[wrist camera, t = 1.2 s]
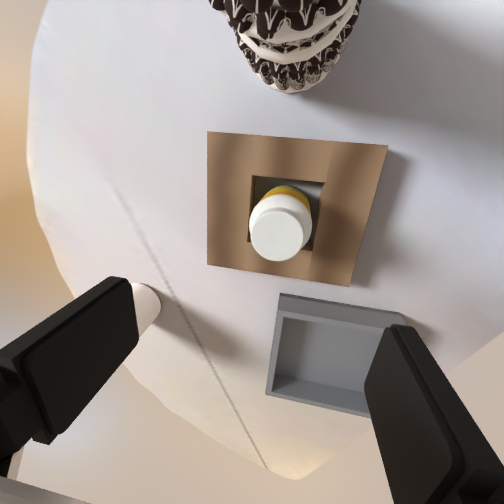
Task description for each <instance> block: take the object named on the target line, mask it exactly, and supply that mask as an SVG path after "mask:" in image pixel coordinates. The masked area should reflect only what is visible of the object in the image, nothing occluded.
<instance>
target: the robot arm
mask: <svg viewBox="0 0 504 504" xmlns="http://www.w3.org/2000/svg"><path fill="white" fill-rule="evenodd" d="M138 341H139V331H138V325H137V318H136V311H135V304H134V297H133V290H132V285H131V284H130V283H129V281H128V280H127V279H126V278H120V277H115V276H110V277H108V278H106V279H105V280H103V281H102V282H100V283H99V284H97V285H96V286H94V287H93V288H91V289H90V290H88V291H87V292H85V293H84V294H82V295H81V296H79V297H78V298H76V299H75V300H73V301H72V302H70V303H69V304H67V305H66V306H64V307H63V308H61V309H60V310H59V311H57V312H56V313H54V314H53V315H51V316H50V317H48V318H47V319H45V320H44V321H42V322H41V323H39V324H38V325H36V326H35V327H33V328H32V329H30V330H29V331H27V332H26V333H24V334H23V335H21V336H20V337H18V338H17V339H15V340H14V341H12V342H11V343H9V344H8V345H6V346H5V347H3V348H2V349H0V504H91V503H87V502H84V501H81V500H77V499H74V498H71V497H68V496H64V495H61V494H58V493H54V492H51V491H48V490H45V489H41V488H38V487H35V486H31V485H28V484H25V483H21V482H18V481H16V479H17V474H18V470H19V466H20V461H21V457H22V453H23V449H24V445H25V444H26V443H27V442H28V441H29V440H30V438H31V437H32V439H33V441H36V442H40V443H43V444H47V445H50V443H51V442H52V441H53V440H54V439H55V438H56V436H57V435H58V434H61V433H63V432H64V431H65V430H66V429H67V428H68V427H69V426H70V425H71V424H72V422H73V421H74V420H75V419H76V418H77V416H78V415H79V414H80V413H81V412H82V410H83V409H84V408H85V407H86V406H87V404H88V403H89V402H90V401H91V400H92V398H93V397H94V396H95V395H96V393H97V392H98V391H99V390H100V389H101V388H102V386H103V385H104V384H105V383H106V381H107V380H108V379H109V378H110V376H111V375H112V374H113V373H114V372H115V371H116V369H117V368H118V367H119V366H120V364H121V363H122V362H123V361H124V360H125V359H126V357H127V356H128V355H129V354H130V353H131V351H132V350H133V349H134V348H135V347H136V345H137V343H138ZM364 393H365V397H366V401H367V405H368V408H369V412H370V416H371V420H372V423H373V427H374V431H375V435H376V438H377V442H378V446H379V449H380V453H381V457H382V461H383V464H384V468H385V472H386V475H387V479H388V483H389V487H390V490H391V494H392V498H393V501H394V504H504V466H503V464H502V463H501V461H500V460H499V458H498V457H497V455H496V453H495V452H494V450H493V449H492V447H491V446H490V444H489V443H488V441H487V440H486V438H485V436H484V435H483V434H482V432H481V430H480V429H479V427H478V426H477V424H476V423H475V421H474V420H473V418H472V416H471V415H470V413H469V412H468V410H467V409H466V407H465V406H464V404H463V402H462V401H461V400H460V398H459V396H458V395H457V393H456V392H455V390H454V389H453V387H452V386H451V384H450V383H449V381H448V379H447V378H446V376H445V375H444V373H443V372H442V370H441V368H440V367H439V365H438V364H437V362H436V361H435V359H434V358H433V356H432V355H431V353H430V351H429V350H428V348H427V347H426V345H425V344H424V342H423V341H422V339H421V338H420V336H419V334H418V333H417V331H416V330H415V329H414V328H413V327H411V326H405V325H399V324H392V325H391V326H390V327H386V328H385V329H384V332H383V334H382V337H381V340H380V342H379V345H378V348H377V350H376V353H375V355H374V358H373V361H372V363H371V366H370V369H369V371H368V374H367V377H366V379H365V382H364Z"/></svg>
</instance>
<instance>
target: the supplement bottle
mask: <svg viewBox="0 0 504 504" xmlns="http://www.w3.org/2000/svg"><path fill="white" fill-rule="evenodd" d="M249 230H250V234H251V242H252V245H253V247H254V249H255V250H256V251H257V252H258V253H259V254H260V255H261V256H262V257H264V258H266V259H268V260H271V261H284V260H288V259H290V258H292V257H293V256H295V255H296V254H297V253H298V252H299V250H300V249H301V248H302V247H303V246H304V245H305V244H306V243H307V241H308V240H309V237H310V235H311V231H312V219H311V213H310V206H309V202H308V199H307V198H306V196H305V195H304V193H303V192H301V191H300V190H299V189H297V188H295V187H293V186H289V185H281V186H277V187H274V188H273V189H271V190H270V191H269V192H267V193H266V195H265V196H264V197H263V198H262V199H261V200H260V202H259V203H258V204H257V205H256V206H255V208H254V209H253V211H252V214H251V216H250V221H249Z"/></svg>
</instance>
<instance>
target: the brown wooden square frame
mask: <svg viewBox="0 0 504 504" xmlns="http://www.w3.org/2000/svg"><path fill="white" fill-rule="evenodd" d="M387 149H388V145H376V144H363V143H350V142H337V141H324V140H311V139H299V138H286V137H273V136H260V135H247V134H234V133H221V132H208V131H207V265H213V266H219V267H226V268H232V269H238V270H245V271H251V272H257V273H264V274H270V275H277V276H283V277H289V278H296V279H302V280H308V281H315V282H321V283H328V284H334V285H340V286H347V287H349V285H350V281H351V277H352V274H353V270H354V267H355V263H356V260H357V256H358V252H359V249H360V245H361V242H362V238H363V235H364V231H365V227H366V224H367V220H368V217H369V213H370V210H371V206H372V202H373V199H374V195H375V192H376V188H377V185H378V181H379V177H380V174H381V170H382V167H383V163H384V159H385V156H386V152H387ZM256 176H265V177H275V178H285V179H295V180H305V181H315V182H323V184H322V189H321V195H320V200H319V205H318V211H317V216H316V221H315V226H314V232H313V237H312V242H311V243H308V242H307V243H306V244H305V245H304V246H303V247H302V248H301V249H300V250H299V252H298V253H297V254H296V255H295V256H293V257H292V258H290V259H288V260H284V261H271V260H268V259H266V258H264V257H262V256H261V255H260V254H259V253H258V252H257V251H256V250H255V249H254V247H253V245H252V242H251V234H250V230H249V221H250V216H251V214H252V211H253V206H254V193H255V180H256Z"/></svg>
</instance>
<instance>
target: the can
mask: <svg viewBox="0 0 504 504" xmlns="http://www.w3.org/2000/svg"><path fill="white" fill-rule="evenodd" d="M130 284H131V285H132V290H133V297H134V304H135V311H136V318H137V325H138V331H139V337H140V336H141V335H142V334H143V333H144V331H145V330H146V329H147V328H148V327H149V326H150V324H151V323H152V322H153V321H154V320H155V318H156V317H157V316H158V315H159V313H160V310H161V304H160V300H159V297H158V295H157V294H156V293H155V292H154V291H153V290H152V289H151V288H150V287H148V286H146V285H144V284H140V283H130Z"/></svg>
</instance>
